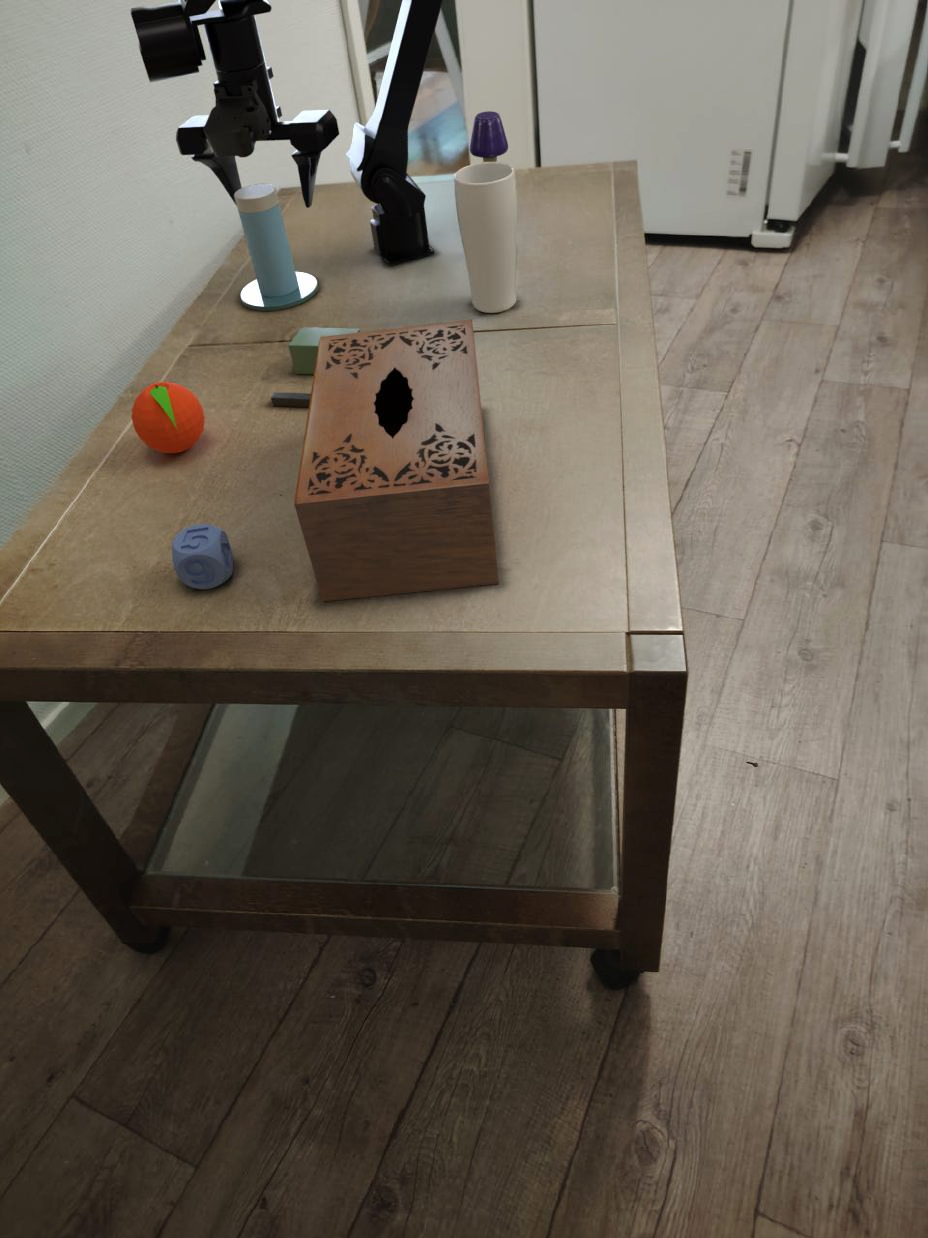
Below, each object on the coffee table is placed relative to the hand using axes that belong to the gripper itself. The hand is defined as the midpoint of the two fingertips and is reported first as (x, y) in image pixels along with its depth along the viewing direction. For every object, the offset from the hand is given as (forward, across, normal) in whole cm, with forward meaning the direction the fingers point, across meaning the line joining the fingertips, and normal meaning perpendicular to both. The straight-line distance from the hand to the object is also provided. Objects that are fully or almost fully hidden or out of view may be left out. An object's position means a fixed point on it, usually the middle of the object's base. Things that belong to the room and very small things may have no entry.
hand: (274, 207), depth 112 cm
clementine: (+9, +3, -39) cm, 40 cm away
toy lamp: (+9, +26, +7) cm, 29 cm away
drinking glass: (+9, +29, -7) cm, 31 cm away
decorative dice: (+9, +14, -57) cm, 59 cm away
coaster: (+9, 0, -4) cm, 10 cm away
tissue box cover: (+9, +29, -44) cm, 54 cm away
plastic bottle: (+7, 0, 0) cm, 7 cm away
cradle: (+9, +13, -25) cm, 30 cm away
